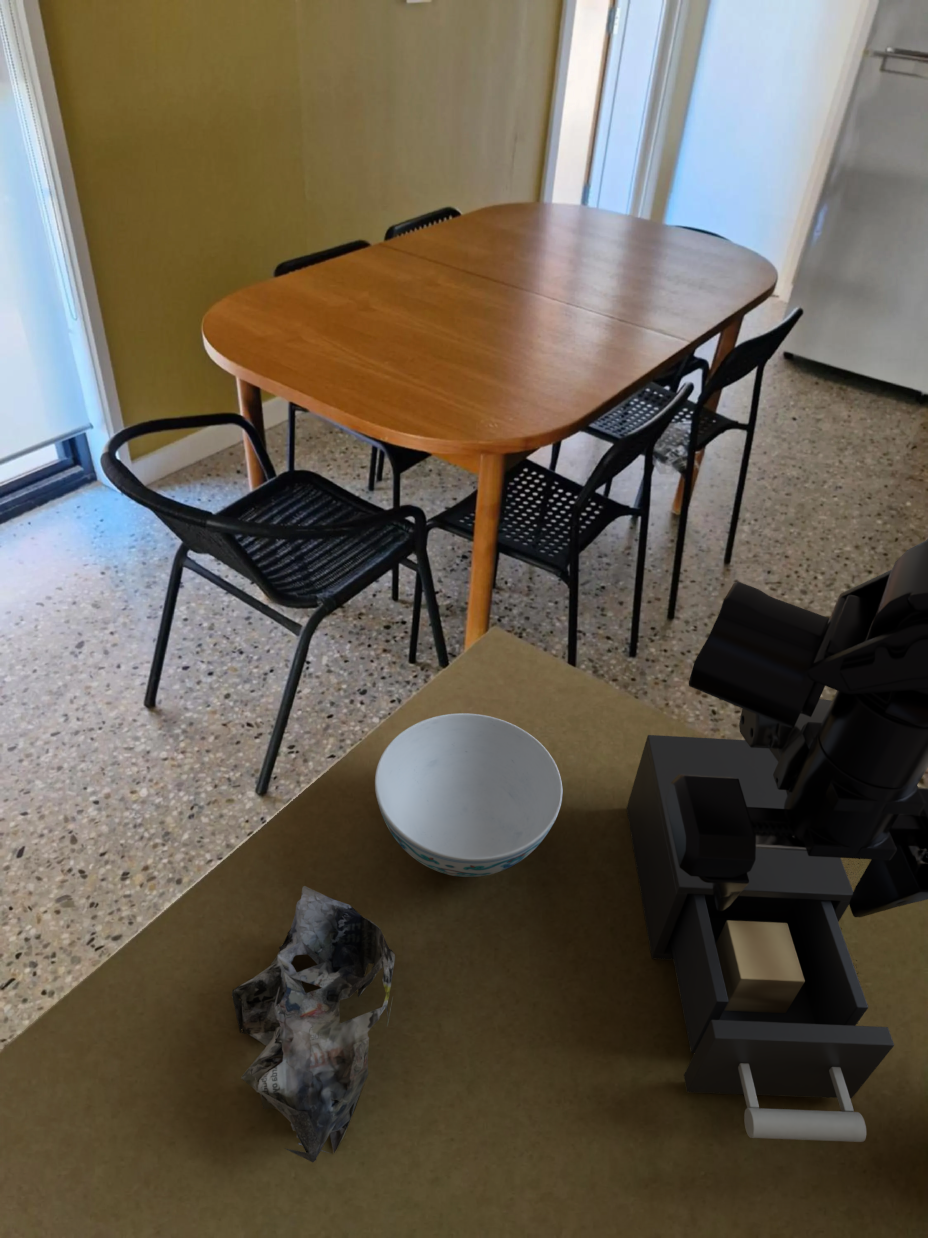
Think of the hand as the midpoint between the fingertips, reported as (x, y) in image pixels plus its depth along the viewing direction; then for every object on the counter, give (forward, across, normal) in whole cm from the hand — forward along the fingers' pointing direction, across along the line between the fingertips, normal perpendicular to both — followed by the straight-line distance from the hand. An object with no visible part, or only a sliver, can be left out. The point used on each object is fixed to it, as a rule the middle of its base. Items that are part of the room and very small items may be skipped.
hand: (786, 907), depth 59 cm
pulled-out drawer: (+11, 0, +3) cm, 11 cm away
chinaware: (+12, +21, -13) cm, 27 cm away
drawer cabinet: (+12, 0, -10) cm, 15 cm away
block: (+10, 0, 0) cm, 10 cm away
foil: (+12, +31, +4) cm, 33 cm away
